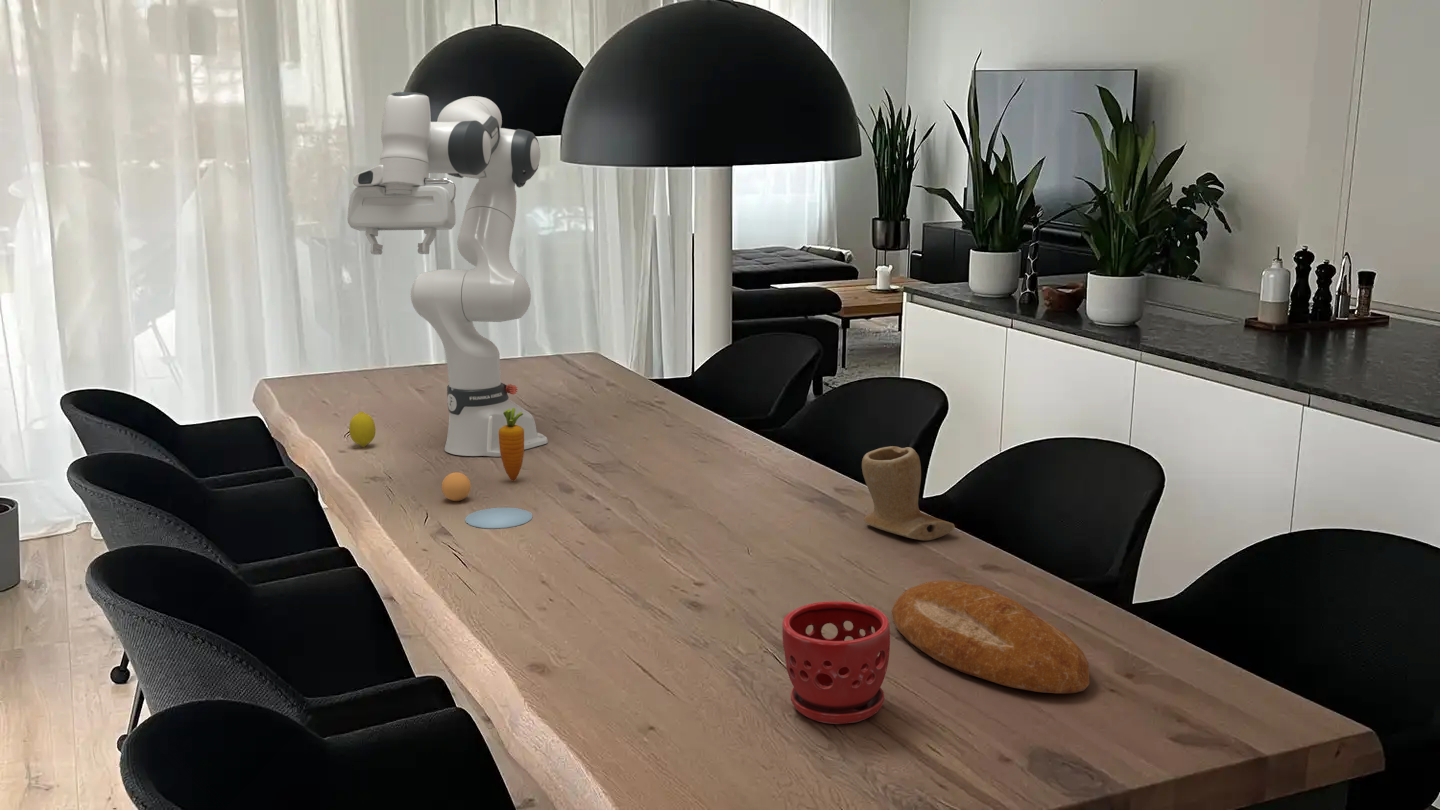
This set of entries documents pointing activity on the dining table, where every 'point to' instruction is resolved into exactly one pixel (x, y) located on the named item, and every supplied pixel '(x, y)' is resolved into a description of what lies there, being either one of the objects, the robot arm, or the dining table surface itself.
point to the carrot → (511, 444)
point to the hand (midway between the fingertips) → (399, 254)
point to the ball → (456, 486)
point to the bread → (990, 637)
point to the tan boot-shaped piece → (899, 494)
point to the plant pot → (836, 661)
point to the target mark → (498, 518)
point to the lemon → (362, 429)
